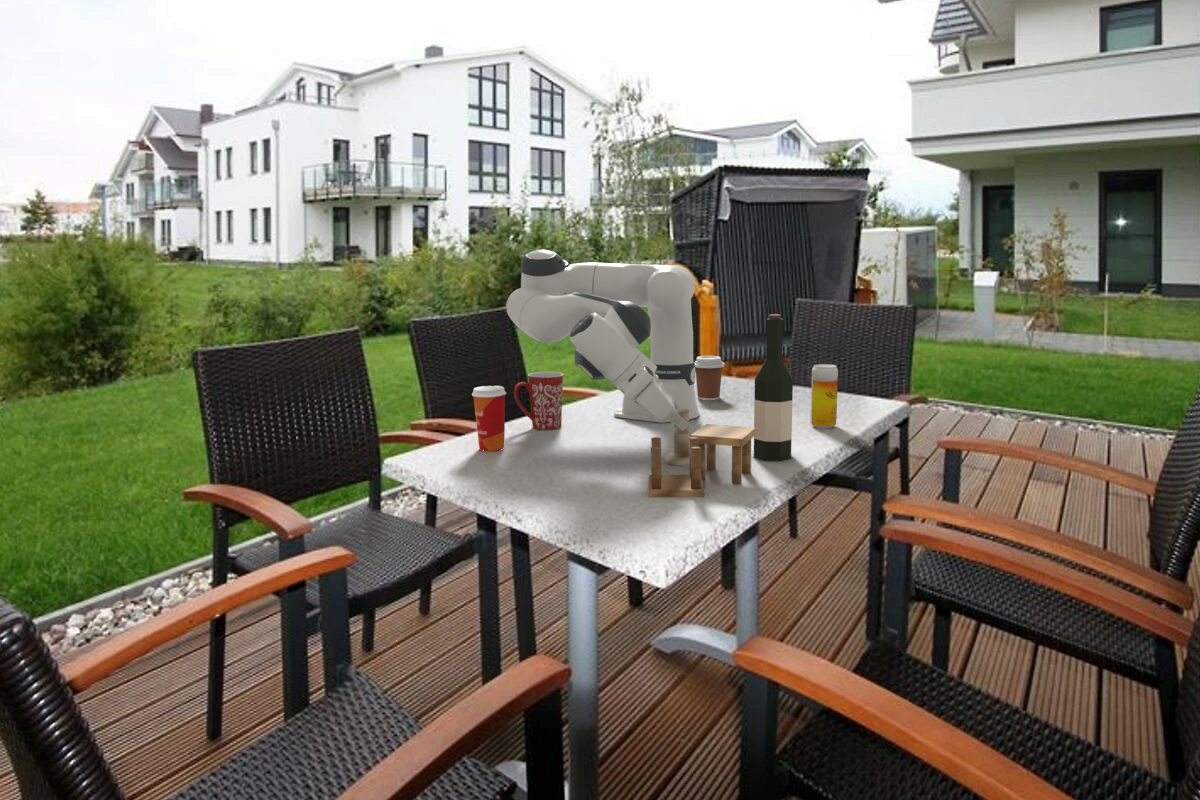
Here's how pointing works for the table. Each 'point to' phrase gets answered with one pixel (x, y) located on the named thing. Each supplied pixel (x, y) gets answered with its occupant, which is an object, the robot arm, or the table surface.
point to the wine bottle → (773, 400)
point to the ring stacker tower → (680, 443)
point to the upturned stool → (676, 483)
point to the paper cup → (490, 416)
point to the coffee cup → (708, 376)
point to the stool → (728, 437)
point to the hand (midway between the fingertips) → (684, 422)
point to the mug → (543, 399)
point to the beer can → (824, 395)
